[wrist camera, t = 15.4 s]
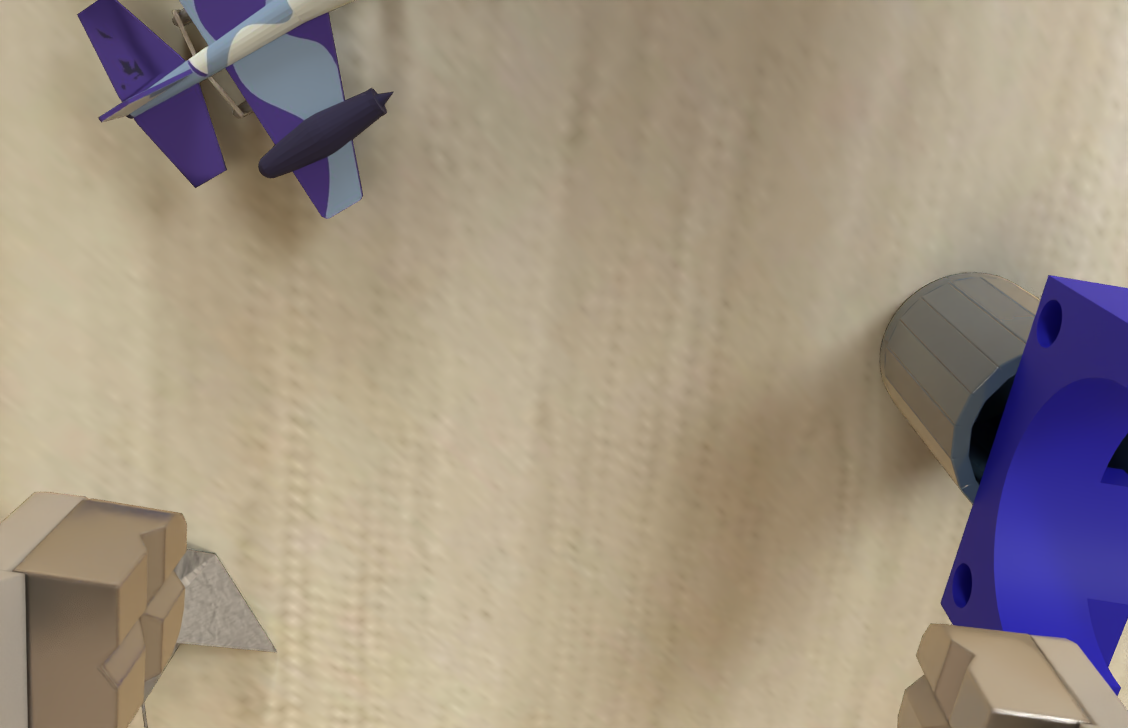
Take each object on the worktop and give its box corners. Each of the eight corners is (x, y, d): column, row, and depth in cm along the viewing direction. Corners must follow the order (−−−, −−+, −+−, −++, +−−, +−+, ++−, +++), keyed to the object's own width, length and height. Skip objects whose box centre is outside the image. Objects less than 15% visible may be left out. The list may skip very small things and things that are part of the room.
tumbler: (902, 259, 42) (984, 328, 33) (1070, 286, 42) (1193, 360, 34) (860, 415, 44) (927, 516, 36) (1019, 439, 44) (1123, 545, 36)
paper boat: (280, 530, 45) (307, 738, 46) (244, 511, 51) (269, 697, 51) (-40, 597, 39) (-4, 835, 40) (-41, 567, 45) (-10, 777, 45)
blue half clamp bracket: (1065, 622, 37) (1152, 736, 31) (940, 603, 37) (1005, 714, 31) (1187, 298, 33) (1313, 361, 27) (1048, 275, 33) (1145, 334, 27)
